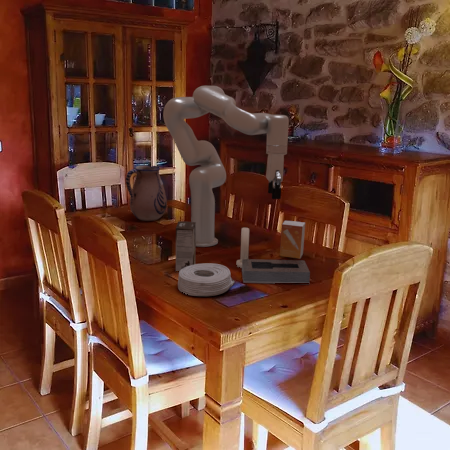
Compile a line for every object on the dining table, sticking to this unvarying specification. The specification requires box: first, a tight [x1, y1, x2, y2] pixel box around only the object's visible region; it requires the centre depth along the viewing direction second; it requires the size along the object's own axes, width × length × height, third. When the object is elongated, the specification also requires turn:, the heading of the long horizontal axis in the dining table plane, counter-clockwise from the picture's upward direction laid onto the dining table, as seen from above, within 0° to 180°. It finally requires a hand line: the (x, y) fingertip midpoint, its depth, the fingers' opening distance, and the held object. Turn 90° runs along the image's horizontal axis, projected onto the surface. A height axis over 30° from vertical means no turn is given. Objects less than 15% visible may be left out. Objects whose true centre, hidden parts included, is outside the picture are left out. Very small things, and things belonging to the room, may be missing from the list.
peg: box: [235, 227, 250, 269], centre depth 190 cm, size 6×6×14 cm
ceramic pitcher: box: [125, 164, 168, 222], centre depth 248 cm, size 18×21×25 cm
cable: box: [177, 262, 235, 297], centre depth 170 cm, size 18×18×6 cm
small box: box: [279, 220, 306, 260], centre depth 203 cm, size 8×6×13 cm
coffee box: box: [175, 220, 196, 272], centre depth 186 cm, size 9×6×16 cm
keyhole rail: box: [241, 258, 311, 284], centre depth 181 cm, size 22×12×4 cm, turn 91°
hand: (274, 196), depth 195 cm, fingers open, 9 cm apart
